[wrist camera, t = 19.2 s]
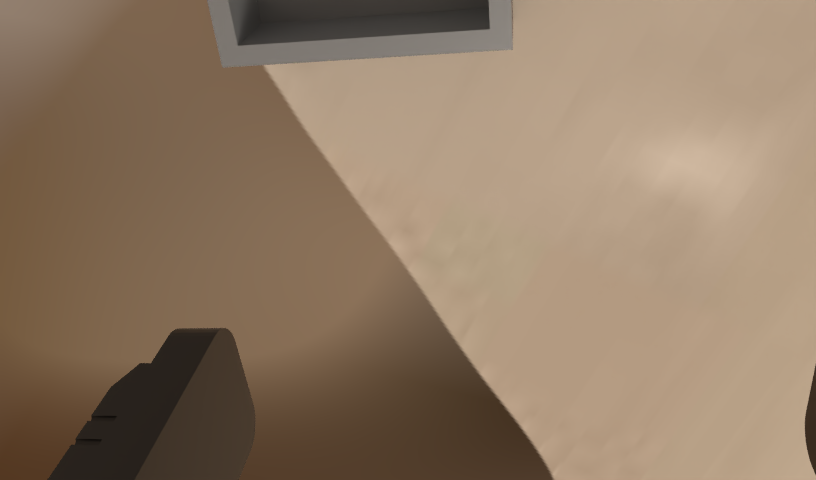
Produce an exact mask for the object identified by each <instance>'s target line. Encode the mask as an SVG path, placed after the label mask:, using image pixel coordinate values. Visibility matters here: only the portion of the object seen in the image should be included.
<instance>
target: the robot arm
mask: <svg viewBox="0 0 816 480" xmlns="http://www.w3.org/2000/svg"><path fill="white" fill-rule="evenodd" d="M254 434H255V410H254V405H253V402H252V398H251V395H250V391H249V388H248V384H247V381H246V377H245V374H244V370H243V367H242V363H241V360H240V356H239V353H238V349H237V346H236V342H235V339H234V337H233V335H232V333H231V332H230V331H229V330H228V329H226V328H198V329H197V328H196V329H195V328H194V329H193V328H190V329H175V330H174V331H172V332H171V333H170V335H169V336H168V338H167V339H166V341H165V343H164V344H163V345H162V347H161V349H160V350H159V352H158V353H157V355H156V356H155V358H154V359H153V361H152V363H151V364H149V363H146V364H145V363H140V364H139V365H138V366H137V367H135V368H134V369H133V370H131V371H130V372H129V373H128V374H127V375H125V376H124V377H123V378H122V379H120V380H119V381H118V382H117V383H115V384H114V385H113V386H112V387H111V388H110V389H109V390H108V392H107V394H106V395H105V396H104V398H103V399H102V401H101V403H100V404H99V405H98V407H97V408H96V410H95V411H94V413H93V414H92V420H91V421H87V423H86V424H85V426H84V427H83V429H82V430H81V431H80V433H79V434H78V436H77V438H76V443H75V445H71V446H70V448H69V449H68V451H67V452H66V453H65V455H64V456H63V458H62V459H61V461H60V462H59V464H58V465H57V467H56V468H55V470H54V471H53V473H52V474H51V475H50V477H49V478H48V480H239V477H240V475H241V473H242V470H243V468H244V465H245V463H246V460H247V458H248V456H249V453H250V451H251V448H252V444H253V440H254ZM805 437H806V445H807V450H808V455H809V458H810V462H811V464H812V467H813V469H814V472H815V474H816V366H815V371H814V376H813V381H812V386H811V391H810V395H809V400H808V405H807V410H806V416H805Z"/></svg>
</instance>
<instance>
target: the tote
mask: <svg viewBox="0 0 816 480" xmlns="http://www.w3.org/2000/svg"><path fill="white" fill-rule="evenodd" d="M207 2H208V6H209V10H210V15H211V19H212V23H213V28H214V33H215V37H216V41H217V45H218V50H219V55H220V59H221V64H222V67H237V66H252V65H253V66H254V65H270V64H287V63H303V62H319V61H335V60H352V59H368V58H384V57H400V56H417V55H433V54H449V53H465V52H482V51H498V50H513V8H512V0H207Z"/></svg>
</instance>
